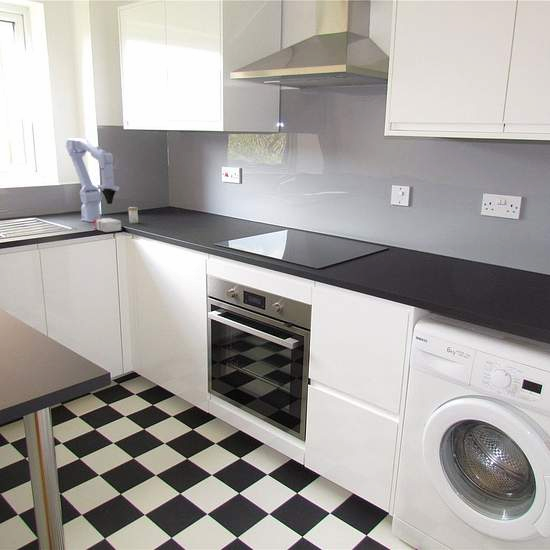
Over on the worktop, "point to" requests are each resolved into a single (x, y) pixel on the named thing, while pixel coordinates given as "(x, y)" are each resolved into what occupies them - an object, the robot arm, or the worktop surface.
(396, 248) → the worktop surface
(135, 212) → the spice jar
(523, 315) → the worktop surface
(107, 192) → the robot arm
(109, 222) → the ink box
